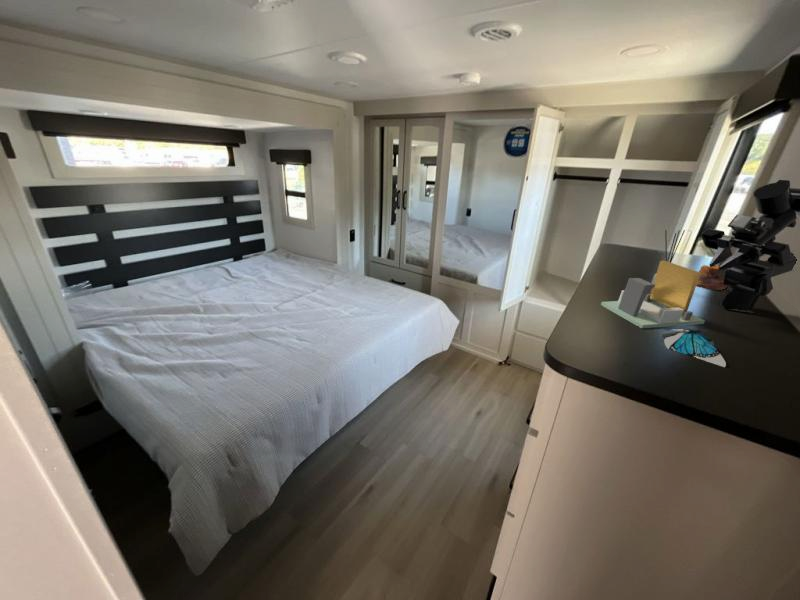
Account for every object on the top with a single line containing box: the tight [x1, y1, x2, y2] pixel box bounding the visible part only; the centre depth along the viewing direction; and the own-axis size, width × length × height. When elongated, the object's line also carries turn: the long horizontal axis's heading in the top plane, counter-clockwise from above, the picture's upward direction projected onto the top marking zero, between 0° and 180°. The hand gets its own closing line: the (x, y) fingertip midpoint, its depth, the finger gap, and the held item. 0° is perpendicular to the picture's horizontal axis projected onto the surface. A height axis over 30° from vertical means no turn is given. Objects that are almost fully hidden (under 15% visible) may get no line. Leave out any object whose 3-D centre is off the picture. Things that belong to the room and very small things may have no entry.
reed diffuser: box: [651, 229, 686, 284], centre depth 105 cm, size 10×7×20 cm
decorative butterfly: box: [661, 328, 727, 368], centre depth 73 cm, size 10×6×10 cm
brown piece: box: [696, 264, 728, 291], centre depth 112 cm, size 12×12×7 cm
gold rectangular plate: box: [649, 260, 700, 316], centre depth 87 cm, size 1×10×13 cm, turn 11°
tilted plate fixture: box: [600, 277, 706, 329], centre depth 87 cm, size 20×14×10 cm
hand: (714, 267), depth 87 cm, fingers open, 2 cm apart
